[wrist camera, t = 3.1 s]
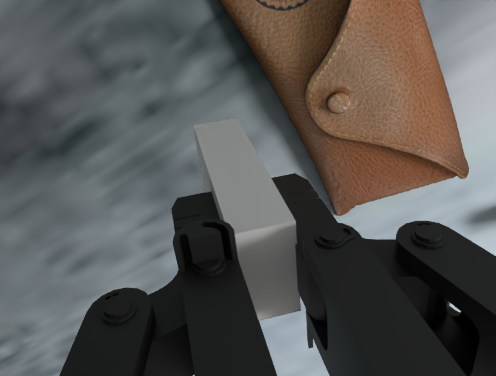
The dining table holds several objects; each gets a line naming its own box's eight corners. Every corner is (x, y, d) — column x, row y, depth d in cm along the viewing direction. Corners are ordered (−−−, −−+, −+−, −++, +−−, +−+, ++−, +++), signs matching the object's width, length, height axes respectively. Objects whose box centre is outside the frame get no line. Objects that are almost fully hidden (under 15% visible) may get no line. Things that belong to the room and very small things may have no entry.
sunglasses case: (177, -43, 20) (282, -94, 15) (271, -119, 22) (388, -185, 17) (339, 224, 29) (437, 249, 24) (392, 149, 32) (491, 158, 27)
